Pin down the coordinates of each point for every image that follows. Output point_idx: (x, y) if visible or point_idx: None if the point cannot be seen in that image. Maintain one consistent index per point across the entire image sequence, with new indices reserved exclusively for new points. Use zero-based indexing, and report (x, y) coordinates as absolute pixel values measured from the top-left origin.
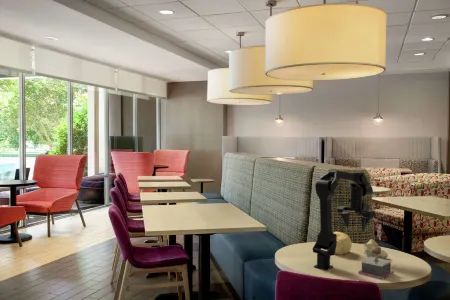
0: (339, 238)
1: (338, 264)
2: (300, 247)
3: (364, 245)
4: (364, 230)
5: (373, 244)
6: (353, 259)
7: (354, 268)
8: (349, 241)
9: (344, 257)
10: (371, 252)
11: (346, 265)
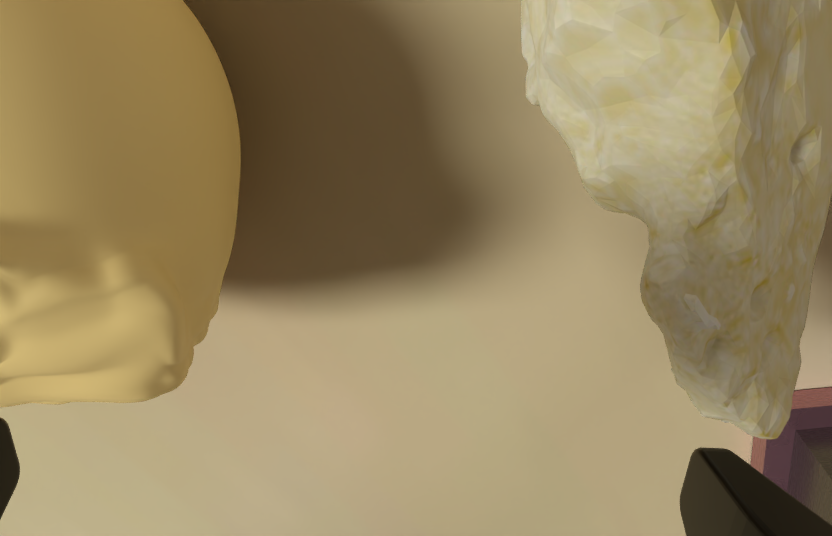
0: (90, 400)
1: (443, 514)
2: None
3: (687, 377)
4: (727, 453)
5: (758, 36)
6: (444, 249)
7: (635, 505)
8: (183, 157)
9: (309, 263)
10: (800, 330)
11: (521, 487)
